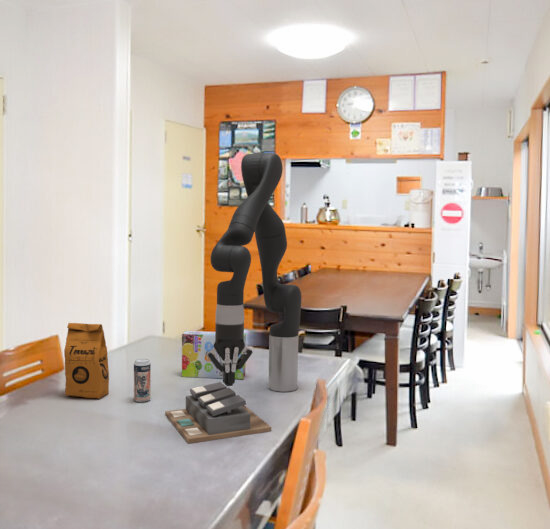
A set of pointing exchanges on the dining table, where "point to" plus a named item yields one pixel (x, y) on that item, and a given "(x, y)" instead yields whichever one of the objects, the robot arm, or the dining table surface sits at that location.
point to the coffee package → (86, 361)
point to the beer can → (142, 380)
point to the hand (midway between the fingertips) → (228, 385)
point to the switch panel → (205, 437)
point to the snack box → (202, 356)
